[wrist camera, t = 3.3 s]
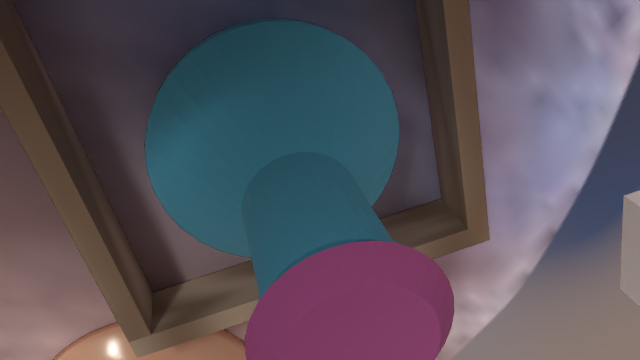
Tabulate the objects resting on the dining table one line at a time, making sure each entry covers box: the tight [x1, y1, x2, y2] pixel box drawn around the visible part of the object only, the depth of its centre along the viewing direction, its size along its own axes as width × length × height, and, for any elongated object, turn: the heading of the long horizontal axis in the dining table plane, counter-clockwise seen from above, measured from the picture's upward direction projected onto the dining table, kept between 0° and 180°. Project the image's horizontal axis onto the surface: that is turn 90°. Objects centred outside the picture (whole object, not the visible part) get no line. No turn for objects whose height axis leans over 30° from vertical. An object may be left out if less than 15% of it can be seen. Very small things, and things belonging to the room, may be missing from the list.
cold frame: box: [0, 0, 490, 358], centre depth 19 cm, size 17×18×12 cm
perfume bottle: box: [145, 19, 454, 360], centre depth 18 cm, size 9×9×15 cm
